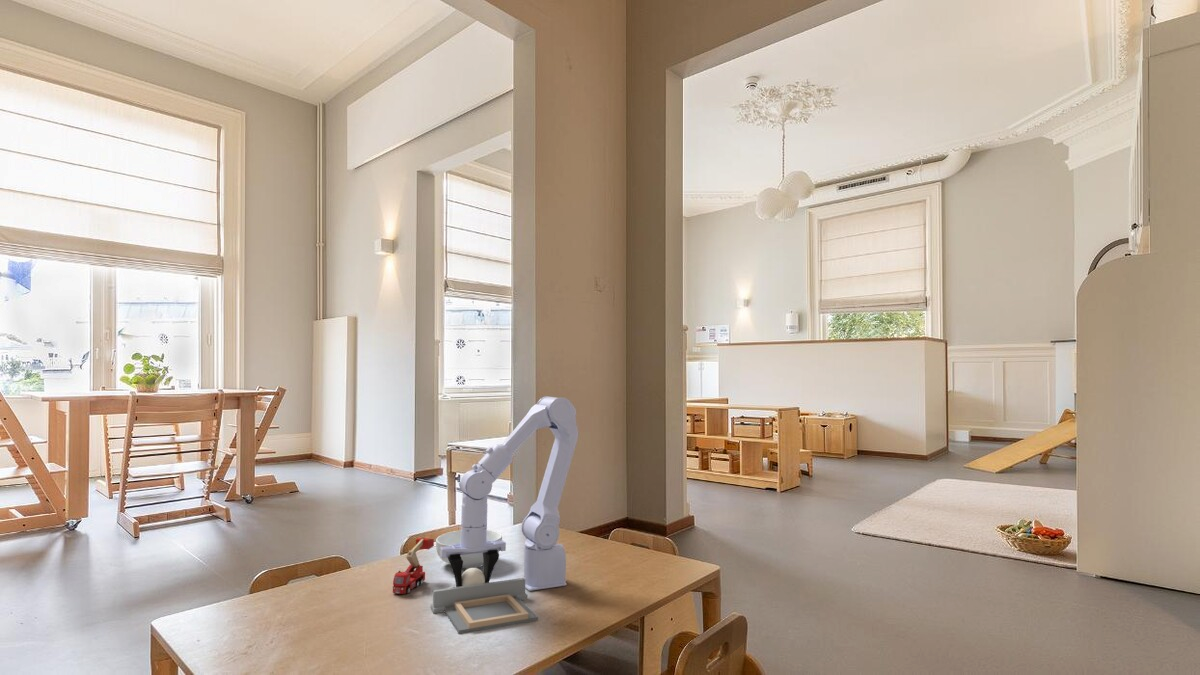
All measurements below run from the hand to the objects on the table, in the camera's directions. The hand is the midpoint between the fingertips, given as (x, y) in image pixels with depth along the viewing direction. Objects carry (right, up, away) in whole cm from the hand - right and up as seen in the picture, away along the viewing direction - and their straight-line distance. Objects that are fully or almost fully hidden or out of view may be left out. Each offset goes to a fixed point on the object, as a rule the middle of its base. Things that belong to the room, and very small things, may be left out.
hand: (472, 586), depth 139 cm
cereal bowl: (-5, -3, +22) cm, 23 cm away
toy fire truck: (-15, -2, +5) cm, 16 cm away
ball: (0, +1, 0) cm, 1 cm away
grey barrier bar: (+3, -1, -6) cm, 7 cm away
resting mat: (+6, -1, -13) cm, 14 cm away
